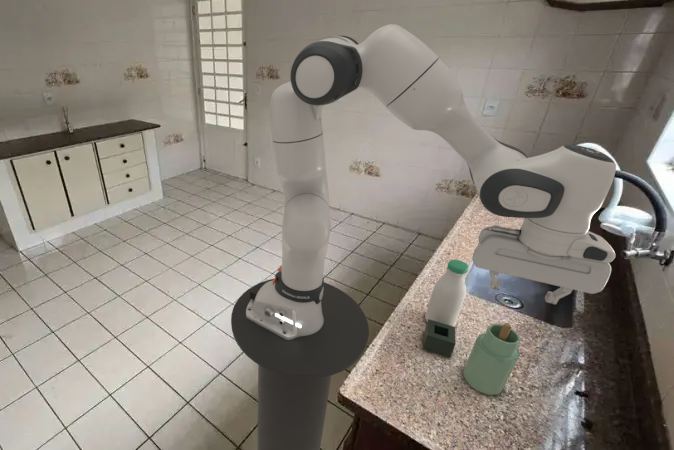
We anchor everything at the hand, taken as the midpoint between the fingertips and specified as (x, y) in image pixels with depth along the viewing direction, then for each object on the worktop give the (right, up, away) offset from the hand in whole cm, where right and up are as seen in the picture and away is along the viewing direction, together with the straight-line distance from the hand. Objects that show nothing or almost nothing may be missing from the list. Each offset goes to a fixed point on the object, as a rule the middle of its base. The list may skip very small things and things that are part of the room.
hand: (521, 294), depth 71 cm
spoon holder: (-5, -18, +22) cm, 28 cm away
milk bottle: (-1, -14, +29) cm, 32 cm away
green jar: (0, -23, +12) cm, 26 cm away
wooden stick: (0, -22, +12) cm, 25 cm away
